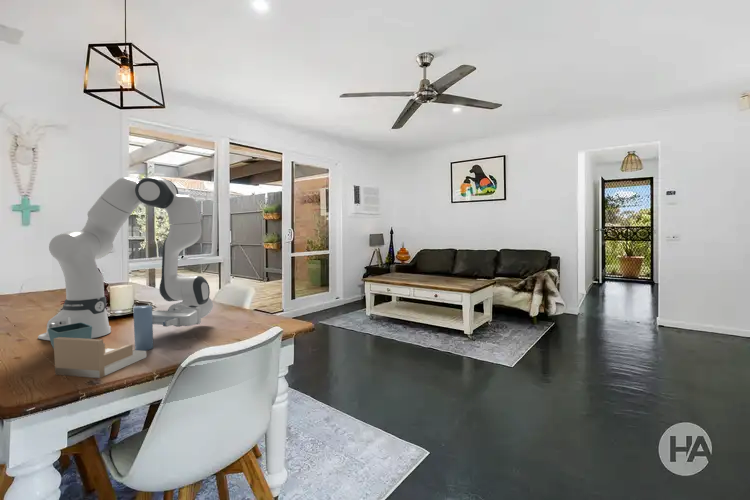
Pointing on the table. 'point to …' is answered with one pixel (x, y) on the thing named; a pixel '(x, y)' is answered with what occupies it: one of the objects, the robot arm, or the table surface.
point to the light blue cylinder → (143, 328)
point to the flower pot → (70, 331)
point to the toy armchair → (91, 357)
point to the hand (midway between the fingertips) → (152, 323)
